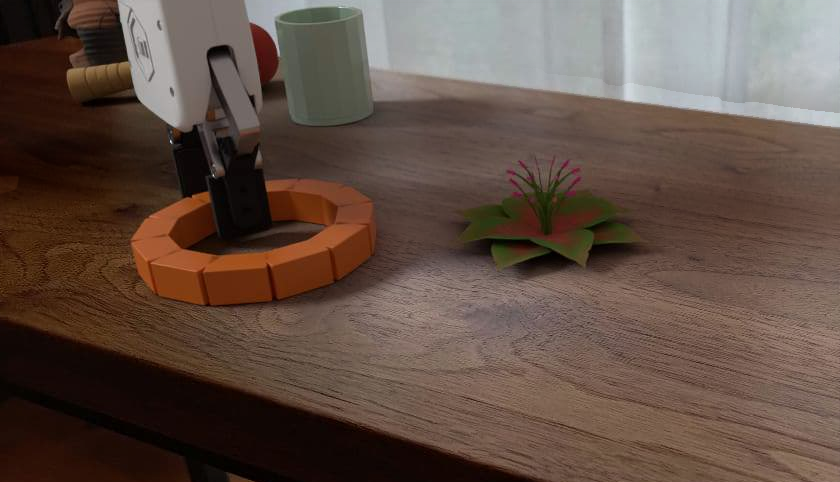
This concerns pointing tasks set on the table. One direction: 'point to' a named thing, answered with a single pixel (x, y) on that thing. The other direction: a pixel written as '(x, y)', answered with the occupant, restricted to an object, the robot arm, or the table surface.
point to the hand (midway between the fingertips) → (226, 215)
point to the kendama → (119, 77)
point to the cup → (325, 65)
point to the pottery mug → (93, 31)
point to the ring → (256, 272)
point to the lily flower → (546, 222)
